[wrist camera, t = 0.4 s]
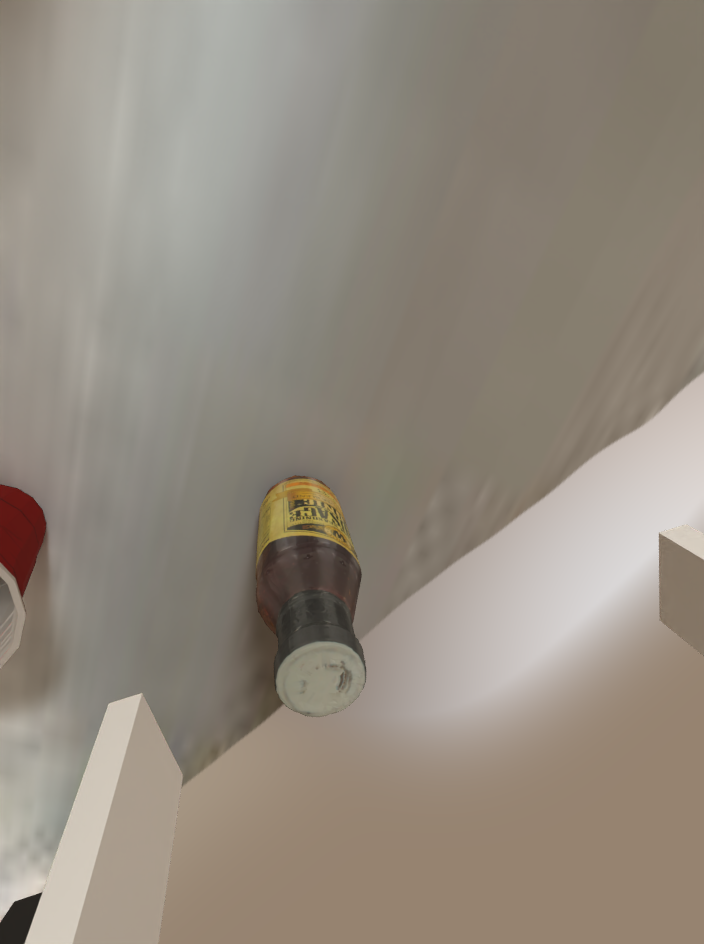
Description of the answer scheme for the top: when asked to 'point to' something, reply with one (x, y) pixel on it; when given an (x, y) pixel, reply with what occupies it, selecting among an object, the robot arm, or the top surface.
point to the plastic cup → (16, 562)
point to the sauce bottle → (310, 596)
